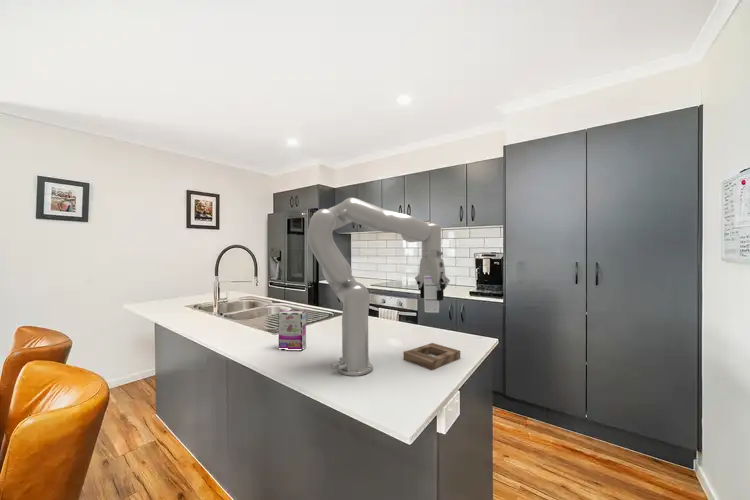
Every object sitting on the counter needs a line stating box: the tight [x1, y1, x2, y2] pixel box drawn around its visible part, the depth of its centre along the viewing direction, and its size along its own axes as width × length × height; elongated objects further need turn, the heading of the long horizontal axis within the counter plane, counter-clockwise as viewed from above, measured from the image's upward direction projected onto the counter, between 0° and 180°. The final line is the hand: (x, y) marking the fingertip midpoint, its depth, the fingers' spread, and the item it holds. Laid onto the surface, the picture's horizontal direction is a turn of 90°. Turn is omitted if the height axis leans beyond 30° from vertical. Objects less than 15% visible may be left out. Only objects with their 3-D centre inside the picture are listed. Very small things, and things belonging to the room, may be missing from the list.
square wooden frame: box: [403, 342, 461, 371], centre depth 118 cm, size 18×14×3 cm
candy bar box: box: [277, 310, 307, 349], centre depth 132 cm, size 11×5×16 cm, turn 80°
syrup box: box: [423, 275, 440, 314], centre depth 118 cm, size 6×6×14 cm
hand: (431, 298), depth 118 cm, fingers closed on syrup box, 7 cm apart
